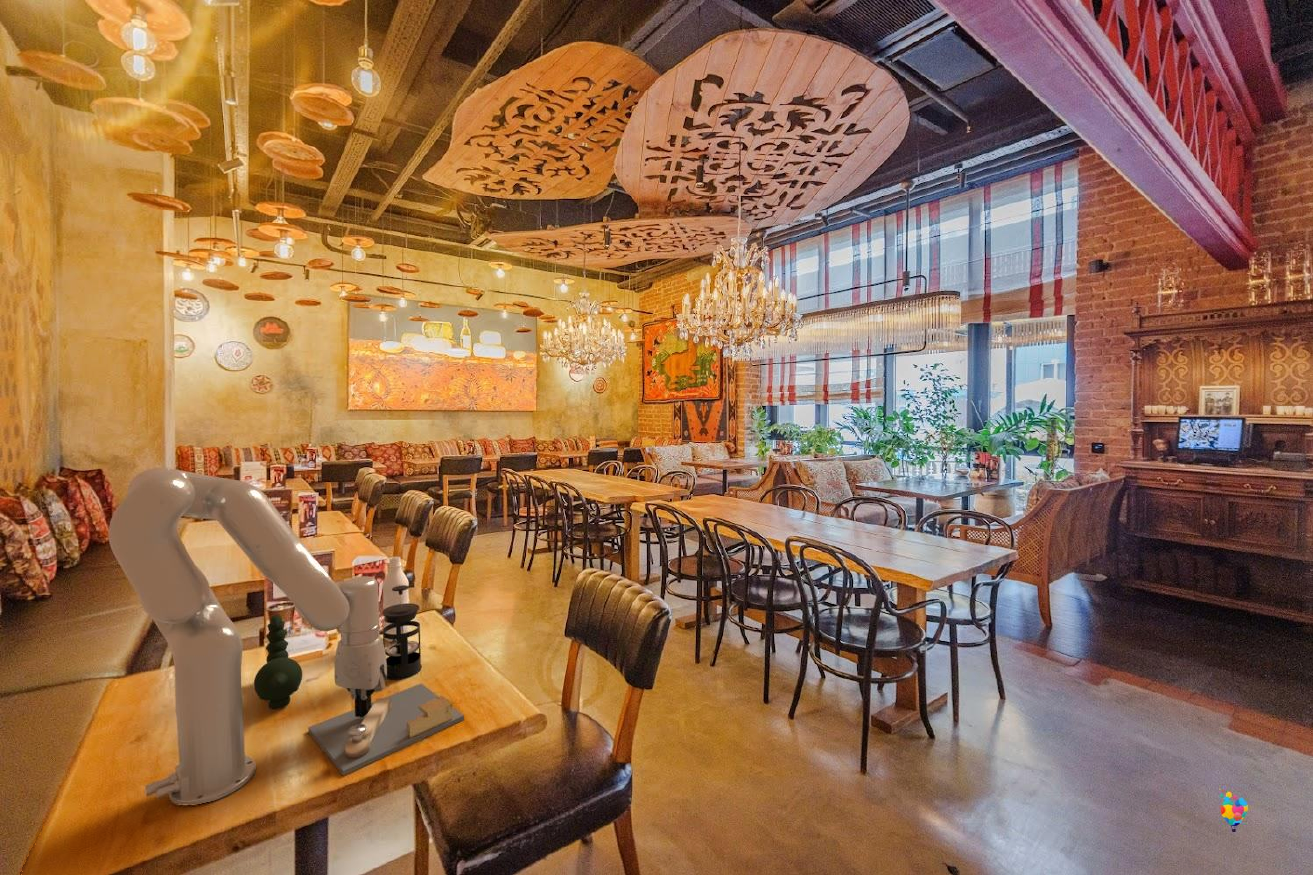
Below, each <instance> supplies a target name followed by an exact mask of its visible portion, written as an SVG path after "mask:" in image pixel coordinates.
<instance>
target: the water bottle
mask: <svg viewBox="0 0 1313 875" xmlns="http://www.w3.org/2000/svg"><path fill="white" fill-rule="evenodd" d="M402 565H403V564H402V561H401V556H392V557H389V564H388V567H389V569H388V571H387V572H388V573H387V574H386V576H385V578H384V580H383V582H382V596H383V597H382V598H383V599H382V600H383V602H382V609H383V610H384V609H386V608H388V607H390V606H394V605H398V604H400V595H399V591H392V588H394V587H396V586H401V585H406V586H409V585H410V582H409V579H408V577H407V576H406V574H405V573H404V571H403V569H402ZM409 594H410V593H409V588H408V589H407V590H404V591H403V594H402V595H401V597H402V604H405V603H410V597H409ZM390 624H392V623H387V622H385V621H384V626H383V629H384V628H385V627H386V626H388V625H390ZM410 631H411V626H403V633H407V632H410ZM385 633H387V634H396V627H395V628H392V629H390V630H388V631H386V632H385ZM385 640H386V641H387V642H388V643H392V642H394V640H395V641H396V639H386V638H385Z"/></svg>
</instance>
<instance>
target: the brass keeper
mask: <svg viewBox="0 0 1313 875" xmlns="http://www.w3.org/2000/svg"><path fill="white" fill-rule="evenodd" d="M452 707H453V702H451V701H450V700H449V699H447V698H446V697H445V696H443V695H441V696H439V697H438V698H436V699H433V700H431V701H428V702H426V703H424V704H421V705H419V710H420V711H422V712H423V713H424V714H425V715H422V716H420V717H418V718H415V719H413V720H411V721H408V722H407V736H408V737H409V738H410V739H411V738H413V737H415V736H417V735H419V734H422V733H424V732H426V731H428V730H430V729H432V728H435V727H437V726H439V725H441V724H443V723H446V722H448V721H450V720H452Z"/></svg>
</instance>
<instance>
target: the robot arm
mask: <svg viewBox="0 0 1313 875" xmlns="http://www.w3.org/2000/svg"><path fill="white" fill-rule="evenodd" d="M126 489H127V490H126V493H127V495H126V496H125V497H124V498H123V500H122V501H121V502H120V504H118V506H117V507H116V509H115V510H114V512H113V515H112V517H111V519H110V522H109V527H108V541H109V547H110V549H111V551H112V554H113V556H114V557H115V559H116V561H117V562H118V564H119V566H120V567H121V569H122V571H123V573H124V575H125V577H126V578H127V580H128V582H129V583H130V585H131V587H132V588H133V590H134V591H135V594H136V595H137V598H138V600H139V603H140V605H141V607H142V609H143V611H145V613H146V614H147V615H148V616H149V617H150V618H151V619H152V620H153V623H154V624H155V625H156V627H157V629H158V630H159V632H160V633H161V635H162V636H163V638H164V639H165V640H166V643H167V644H168V646H169V648H170V653H171V654H172V657H173V658H172V659H173V664H174V666H173V667H174V689H175V690H174V696H175V698H174V699H175V700H174V701H175V713H176V725H177V726H176V727H177V728H176V729H177V746H178V761H179V764H178V765H176V766H175V767H174V768H175V769H174V770H175V771H174V772H172V773H170V774H168V777H164V778H162V779H159V780H156V781H153V782H150V783H147V784H145V785H144V789H145V791H144V792H145V796H146V797H150V796H152V795H155V794H156V799H160V798H162V797H164V796H167V795H169V796H168V797H169V800H171V801H172V802H173V803H175V804H181V805H183V804H188V805H191V804H200V803H205V802H209V803H211V801H212V802H214V801H217V800H220V799H222V798H224V797H227V796H229V795H231V794H232V793H234V792H235V791H237V790H239V789H240V788H242V787H243V786H244V785H245V784H247V783H248V781H250V780H251V779H252V777H253V776H254V774H255V772H256V762H255V760H254V759H253V758H252V757H250V756H246V751H245V735H244V734H245V732H244V731H245V730H244V729H245V728H244V710H243V707H244V706H243V692H242V691H243V689H242V662H243V661H242V660H243V641H242V637H241V634H240V631H239V629H238V628H237V626H236V625H235V624H234V622H233V621H232V620H231V619H230V617H229V616H228V615H227V613H226V611H225V610H224V608H223V607H222V605H221V603H220V602H219V600H218V599H217V596H216V595H215V593H214V591H213V590H212V588H211V586H210V584H209V581H208V579H207V577H206V576H205V574H204V573H203V571H202V570H201V569H200V568H199V567H198V566H197V565H196V564H195V562H194V560H193V559H192V557H191V555H190V554H189V552H188V550H187V548H186V546H185V544H184V542H183V540H182V539H181V537H180V534H179V532H178V525H179V521H180V520H181V518H182V517H188V518H194V519H205V520H212V521H217V522H218V523H219V524H220V525H221V527H222V528H223V530H225V532H227V534H228V535H229V537H231V539H232V540H233V541H234V543H236V545H237V546H238V547H239V548H240V550H241V551H242V552H243V553H244V554H245V555H246V557H247V558H248V559H249V560H250V561H251V563H252V564H253V565H254V566H255V567H256V569H257V570H259V572H260V573H261V574H262V575H263V576H264V577H265V578H267V579H268V580H269V581H271V583H273V584H274V585H275V586H277V588H278V589H279V590H280V591H282V593H283V594H284V595H285V596H286V597H287V598H288V599H289V601H291V603H292V604H293V605H294V610H295V611H296V613H297V614H298V615H299V617H301V618H302V619H303V620H304V621H306V622H307V623H308V625H309V626H311V627H312V628H313V629H315V630H317V631H319V632H329V631H334V630H336V629H337V633H338V634H340V640H339V641H338V642H337V645H336V646H337V647H336V651H335V655H334V656H335V657H334V684H335V685H336V686H338V687H340V688H342V689H345V690H347V691H348V692H349V693H350V697H351V698H352V699H353V700H354V709H355V717H364V716H365V715H366V714H367V713H368V712H369V711H370V709H371V708H372V695H373V694H374V693H378V692H382V691H383V690H385V689H386V682H385V680H387V678H386V677H387V663H386V658H387V655H386V654H385V649H386V648H385V649H384V644H383V637H381V635H380V631H381V630H380V610H379V609H380V607H379V606H380V605H379V584H378V581H377V579H376V578H374V577H373V576H355V577H352V578H351V577H350V578H348V579H346V580H342V581H333V579H332V577H331V576H330V575H329V574H328V573H327V572H326V571H325V569H324V568H323V567H322V565H321V564H320V563H319V562H318V561H317V559H316V558H315V557H314V556H313V554H312V553H311V551H310V550H309V549H308V547H307V546H306V545H305V544H304V543H303V541H302V540H301V539H300V537H299V536H298V535H297V534H296V533H295V531H294V530H293V528H292V527H291V526H290V525H289V524H288V522H287V521H286V520H285V518H284V517H283V516H282V515H281V513H280V512H279V510H278V509H277V508H276V507H275V505H273V503H272V502H271V500H270V499H269V498H268V496H267V495H266V494H265V493H264V492H263V491H262V490H261V489H260V488H259V487H257V486H256V485H253V484H251V483H248V482H247V481H244V480H243V481H242V480H239V479H238V480H237V479H231V478H224V477H220V476H212V475H207V474H203V473H197V472H191V471H187V470H186V471H185V470H179V469H175V468H170V467H152V468H149V469H146V470H143V471H141V472H139V473H138V474H136V475H135V476H133V478H132V479H131V480H130V482H129V484H128V486H127V488H126ZM171 801H170V802H171ZM172 802H171V803H172ZM173 803H172V804H173ZM175 804H174V805H175ZM205 804H206V803H205Z"/></svg>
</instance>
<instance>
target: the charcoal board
mask: <svg viewBox="0 0 1313 875" xmlns="http://www.w3.org/2000/svg"><path fill="white" fill-rule="evenodd" d="M438 697H440V696H439V695H438V694H436V693H435V692H434V691H432V690H431V689H429V688H428V687H427V686H426V685H424V684H423V683H418V684H416V685H414V686H410V687H409V688H406V689H403V690H400V691H397V692H395V693H393V694H390V695H388V696H385V697H384V698H391V709H390V710H389V712H388V713H387V715H386V717H385V718H384V720H383V722H382V723H381V725H380V727H379V729H378V730H377V732H376V734H375V735H374V737H373V739H372V741H371V742H370V750H369V751H368V752H367V753H366V754H365V755H363V756H360V757H357V758H348V757H346V755H345V742H346V741H347V740H348V739H349V738H351V737H352V736H350V735H348V730H349V728H351V727H352V726H355V725H358V724H361V723H362V721H363V720H364V718H365V717H366V715H367V714H368V713H367V714H366V715H365V716H364V717H355V708H354V709H352V710H349V711H347V712H344V713H341V714H339V715H336V716H334V717H331V718H329V719H326V720H324V721H321V722H319V723H317V724H316V723H315V724H313V725H311V726H308V727H307V729H308V733H309V734H310V735H311V737H312V738H313V740H314V741H315V742H316V743H317V744H318V745H319V747H320V748H321V750H323V752H324V753H325V754H326V756H327V757H328V759H329V760H330V761H331V762H332V763H333V764H334V766H335V767H336V768H337V769H338V771H339V772H340V773H341V775H342V776H343V777H344V776H346V775H348V774H350V773H353V772H355V771H357V770H359V769H361V768H363V767H366V766H368V765H370V764H372V763H375V762H377V761H379V760H381V759H382V758H385V757H387V756H390V755H391V754H393V753H396V752H398V751H400V750H402V749H405V748H406V747H409V746H411V745H413V744H414V743H417V742H419V741H422V740H423V739H426V738H428V737H429V736H432V735H434V734H436V733H439V732H440V731H443V730H445V729H447V728H449V727H452V726H454V725H456V724H457V723H460V722H462V721H464V720H465V715H464V714H463V713H461V712H460V711H459V710H457V709H456V707H453V706H452V720H450V721H448V722H446V723H443V724H441V725H439V726H437V727H435V728H432V729H430V730H428V731H426V732H424V733H422V734H419V735H417V736H415V737H413V738H411V739H410V738H409V737H408V736H407V722H408V721H411V720H413V719H415V718H418V717H420V716H422V715H425V714H424V713H423V712H422V711H420V710H419V705H421V704H424V703H426V702H428V701H431V700H433V699H436V698H438ZM374 702H375V701H371V703H372V706H373V704H374Z"/></svg>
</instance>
